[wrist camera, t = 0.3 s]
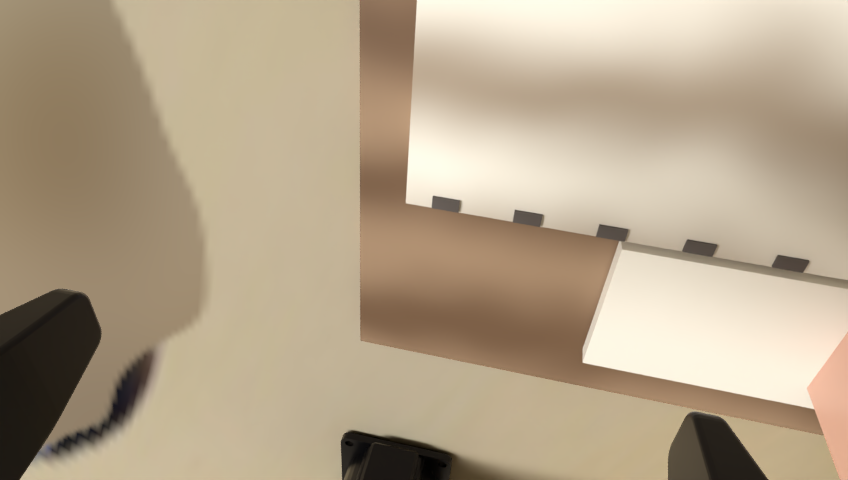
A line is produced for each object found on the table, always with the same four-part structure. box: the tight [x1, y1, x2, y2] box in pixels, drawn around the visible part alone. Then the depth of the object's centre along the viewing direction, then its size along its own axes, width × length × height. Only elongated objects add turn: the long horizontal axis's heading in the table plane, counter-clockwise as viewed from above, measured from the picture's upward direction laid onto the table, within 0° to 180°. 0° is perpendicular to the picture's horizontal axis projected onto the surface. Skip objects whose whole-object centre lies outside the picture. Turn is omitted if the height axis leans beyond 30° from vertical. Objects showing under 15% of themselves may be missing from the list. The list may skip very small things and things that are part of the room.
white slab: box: [583, 241, 848, 480], centre depth 21 cm, size 6×16×6 cm, turn 87°
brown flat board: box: [360, 0, 848, 435], centre depth 21 cm, size 18×29×2 cm, turn 87°
